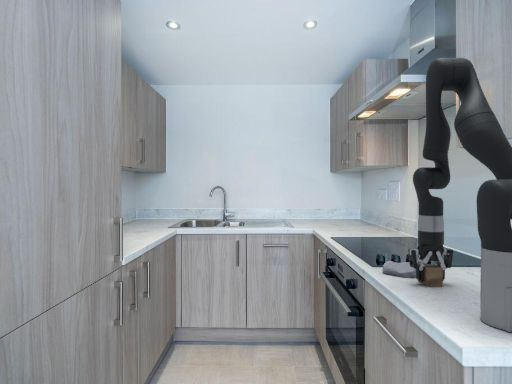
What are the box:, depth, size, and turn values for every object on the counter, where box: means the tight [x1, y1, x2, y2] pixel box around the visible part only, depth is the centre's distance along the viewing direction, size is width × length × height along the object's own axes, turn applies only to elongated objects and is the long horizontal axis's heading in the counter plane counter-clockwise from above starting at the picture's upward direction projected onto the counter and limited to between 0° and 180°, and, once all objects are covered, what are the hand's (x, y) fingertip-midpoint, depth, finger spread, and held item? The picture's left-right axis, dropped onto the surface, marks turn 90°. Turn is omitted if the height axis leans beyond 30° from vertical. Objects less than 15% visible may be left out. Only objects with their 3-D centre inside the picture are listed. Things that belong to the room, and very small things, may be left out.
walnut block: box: [417, 263, 444, 288], centre depth 105 cm, size 5×5×6 cm
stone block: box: [382, 260, 416, 279], centre depth 118 cm, size 12×5×10 cm
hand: (430, 280), depth 105 cm, fingers open, 6 cm apart
